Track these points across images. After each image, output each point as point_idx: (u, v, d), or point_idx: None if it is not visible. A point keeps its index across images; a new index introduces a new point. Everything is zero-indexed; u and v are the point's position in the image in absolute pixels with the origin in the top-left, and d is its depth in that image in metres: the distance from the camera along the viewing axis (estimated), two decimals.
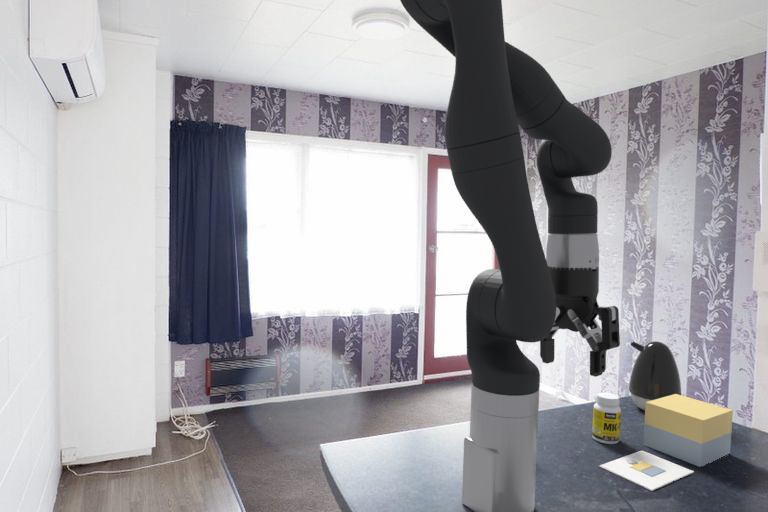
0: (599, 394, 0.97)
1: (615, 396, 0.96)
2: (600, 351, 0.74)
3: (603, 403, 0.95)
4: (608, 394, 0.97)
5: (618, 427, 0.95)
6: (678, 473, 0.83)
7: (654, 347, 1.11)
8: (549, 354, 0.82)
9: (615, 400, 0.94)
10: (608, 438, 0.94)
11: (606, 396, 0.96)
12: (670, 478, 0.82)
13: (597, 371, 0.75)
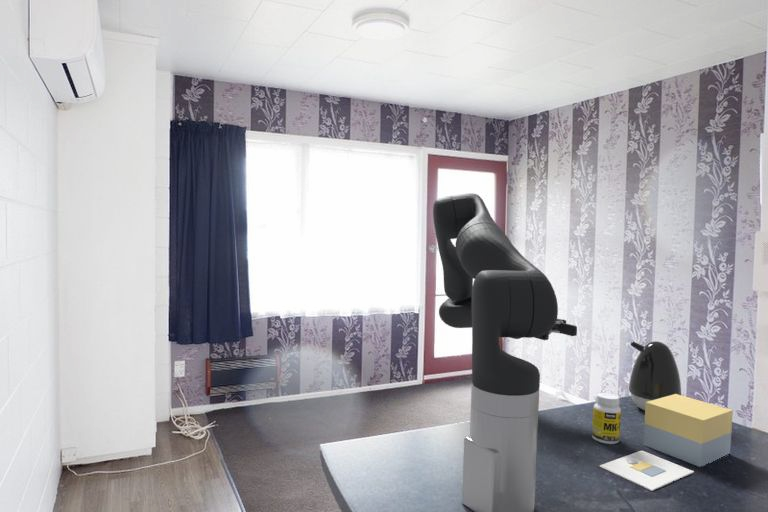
0: (599, 394, 0.97)
1: (615, 396, 0.96)
2: None
3: (603, 403, 0.95)
4: (608, 394, 0.97)
5: (618, 427, 0.95)
6: (678, 473, 0.83)
7: (654, 347, 1.11)
8: None
9: (615, 400, 0.94)
10: (608, 438, 0.94)
11: (606, 396, 0.96)
12: (670, 478, 0.82)
13: None
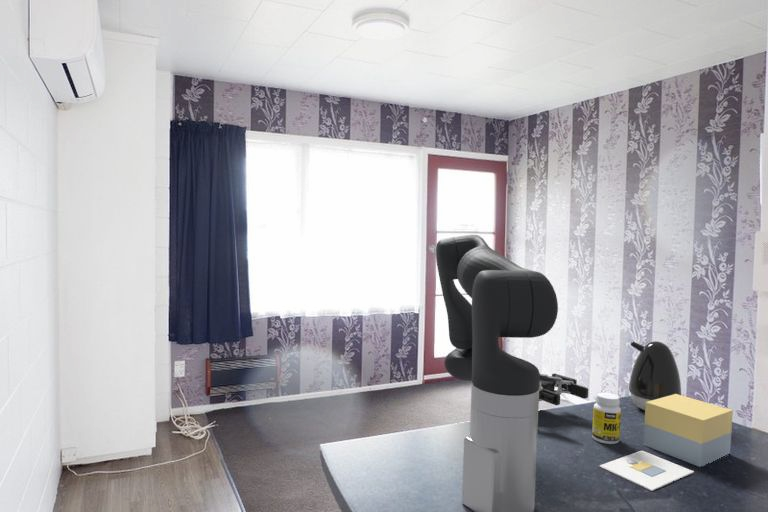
0: (599, 394, 0.97)
1: (615, 396, 0.96)
2: None
3: (603, 403, 0.95)
4: (608, 394, 0.97)
5: (618, 427, 0.95)
6: (678, 473, 0.83)
7: (654, 347, 1.11)
8: None
9: (615, 400, 0.94)
10: (608, 438, 0.94)
11: (606, 396, 0.96)
12: (670, 478, 0.82)
13: None
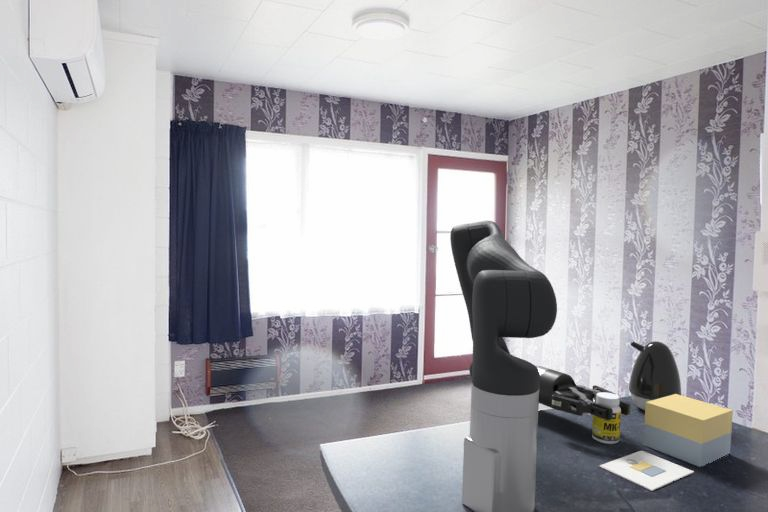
0: (599, 394, 0.97)
1: (615, 396, 0.96)
2: None
3: (603, 402, 0.95)
4: (608, 394, 0.97)
5: (618, 427, 0.95)
6: (678, 473, 0.83)
7: (654, 347, 1.11)
8: None
9: (615, 400, 0.94)
10: (608, 438, 0.94)
11: (606, 396, 0.96)
12: (670, 478, 0.82)
13: None
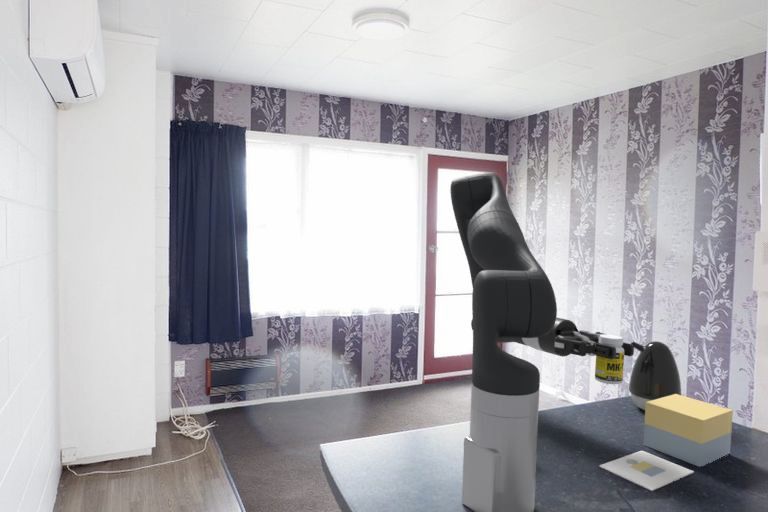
0: (602, 335, 0.96)
1: (619, 337, 0.95)
2: None
3: (607, 343, 0.94)
4: (611, 336, 0.96)
5: (621, 367, 0.94)
6: (678, 473, 0.83)
7: (654, 347, 1.11)
8: None
9: (618, 340, 0.94)
10: (611, 378, 0.94)
11: (609, 337, 0.95)
12: (670, 478, 0.82)
13: None
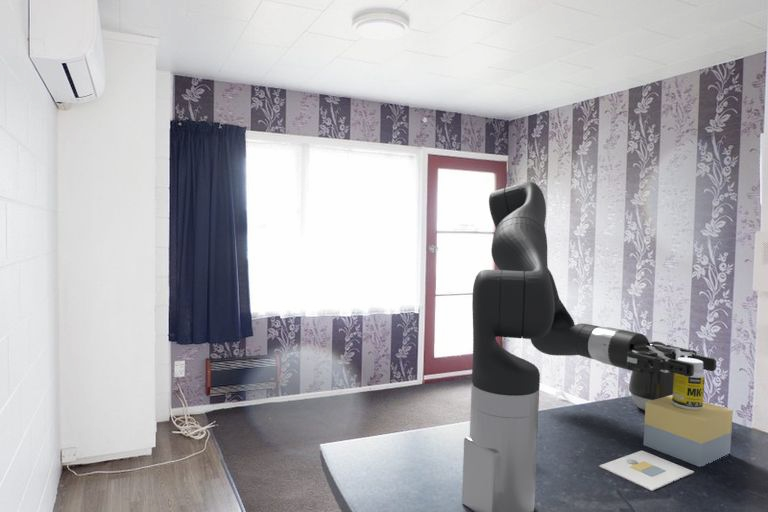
0: (680, 359, 0.93)
1: (698, 360, 0.92)
2: None
3: None
4: (690, 359, 0.93)
5: (702, 392, 0.91)
6: (678, 473, 0.83)
7: None
8: None
9: (699, 364, 0.90)
10: (692, 404, 0.90)
11: (689, 360, 0.92)
12: (670, 478, 0.82)
13: None
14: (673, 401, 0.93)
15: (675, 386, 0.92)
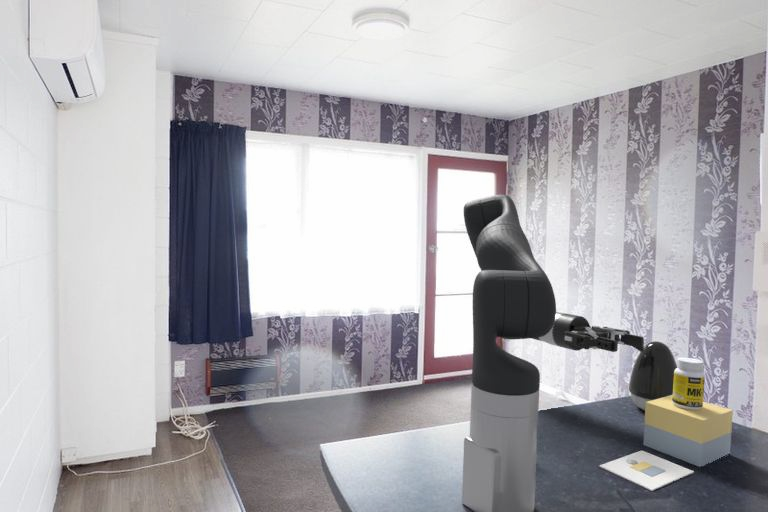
0: (680, 359, 0.93)
1: (698, 360, 0.92)
2: None
3: (687, 367, 0.91)
4: (689, 359, 0.93)
5: (702, 392, 0.91)
6: (678, 473, 0.83)
7: (654, 347, 1.11)
8: None
9: (699, 364, 0.90)
10: (692, 404, 0.90)
11: (689, 360, 0.92)
12: (670, 478, 0.82)
13: None
14: (673, 401, 0.93)
15: (675, 386, 0.92)
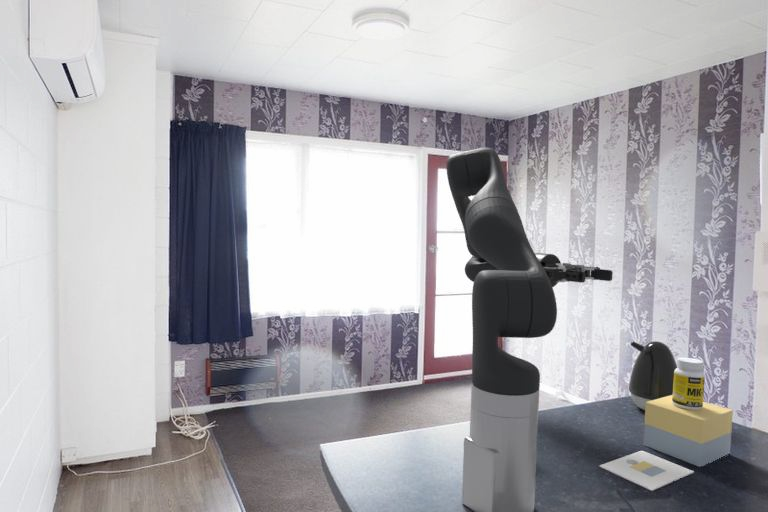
0: (680, 359, 0.93)
1: (698, 360, 0.92)
2: None
3: (687, 367, 0.91)
4: (690, 359, 0.93)
5: (702, 392, 0.91)
6: (678, 473, 0.83)
7: (654, 347, 1.11)
8: None
9: (699, 364, 0.90)
10: (692, 404, 0.90)
11: (689, 360, 0.92)
12: (670, 478, 0.82)
13: None
14: (673, 401, 0.93)
15: (675, 386, 0.92)
